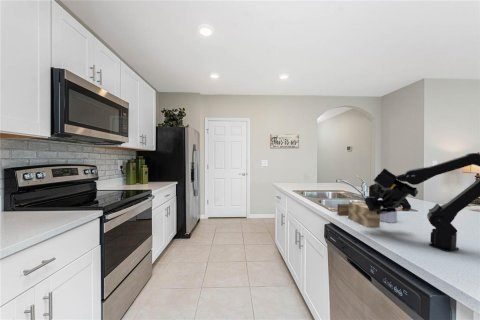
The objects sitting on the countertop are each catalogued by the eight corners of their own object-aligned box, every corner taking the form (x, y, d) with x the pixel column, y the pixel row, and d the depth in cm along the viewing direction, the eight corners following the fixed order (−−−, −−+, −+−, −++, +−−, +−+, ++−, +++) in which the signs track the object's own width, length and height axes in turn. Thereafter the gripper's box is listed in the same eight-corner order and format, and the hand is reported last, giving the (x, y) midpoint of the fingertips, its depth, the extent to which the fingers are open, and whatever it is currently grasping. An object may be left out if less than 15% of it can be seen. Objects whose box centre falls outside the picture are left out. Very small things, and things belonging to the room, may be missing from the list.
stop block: (356, 215, 131) (357, 205, 131) (340, 215, 130) (340, 205, 130) (353, 214, 134) (353, 204, 134) (337, 214, 133) (337, 204, 133)
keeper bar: (379, 227, 110) (380, 209, 110) (368, 227, 109) (368, 209, 109) (358, 218, 126) (359, 202, 126) (348, 218, 125) (348, 202, 125)
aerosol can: (367, 215, 133) (369, 180, 132) (367, 212, 140) (368, 179, 140) (384, 217, 129) (385, 181, 129) (383, 213, 136) (384, 180, 136)
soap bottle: (372, 219, 124) (374, 174, 124) (383, 217, 128) (385, 173, 128) (389, 223, 116) (391, 175, 116) (400, 221, 120) (402, 175, 119)
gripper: (406, 179, 102) (387, 199, 113) (367, 179, 100) (351, 199, 111) (421, 200, 94) (399, 219, 106) (380, 200, 92) (361, 219, 104)
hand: (377, 213), depth 107 cm, fingers closed
